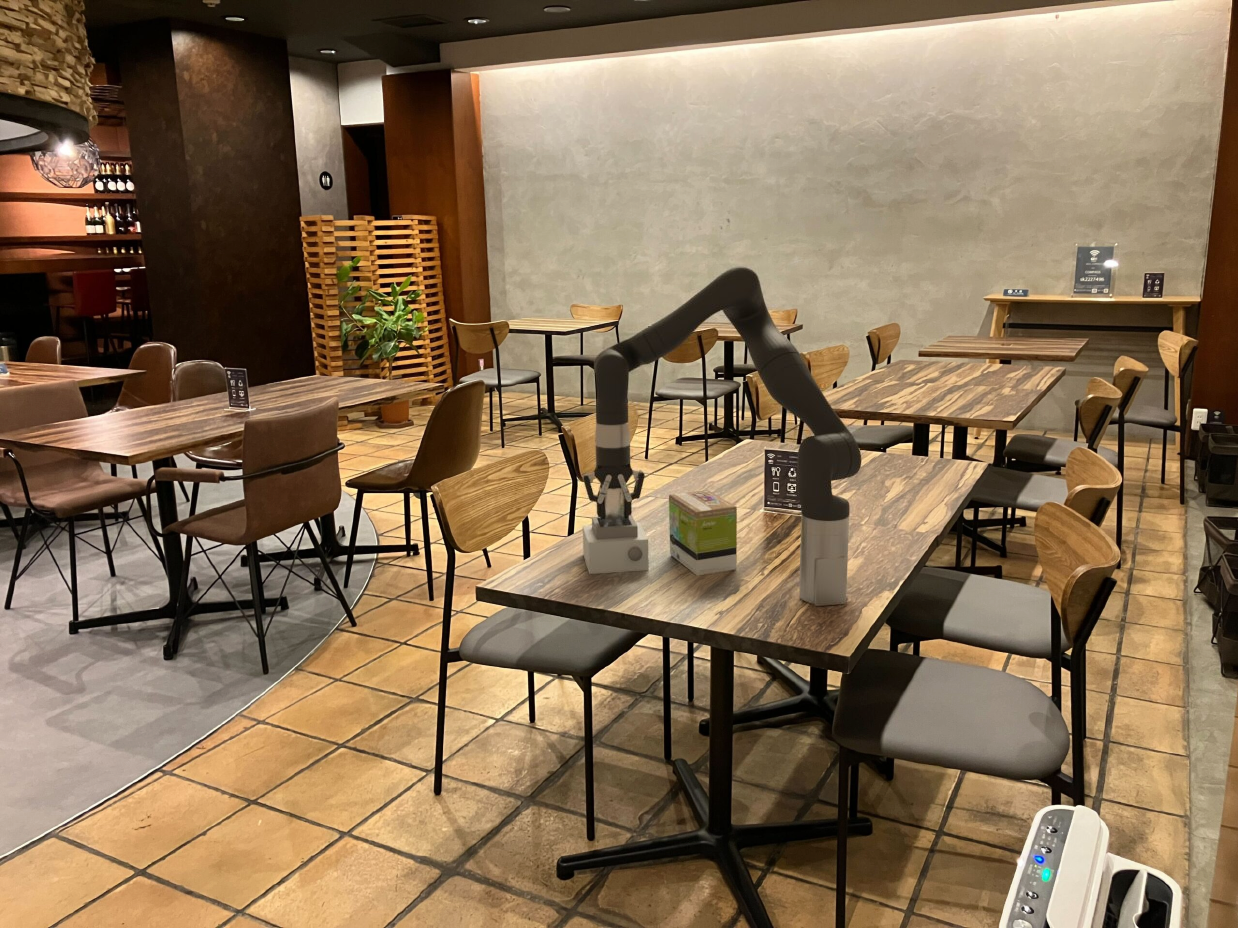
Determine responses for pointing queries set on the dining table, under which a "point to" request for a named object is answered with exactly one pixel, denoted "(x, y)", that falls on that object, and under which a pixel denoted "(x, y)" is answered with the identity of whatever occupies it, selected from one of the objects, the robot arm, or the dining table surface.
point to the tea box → (703, 532)
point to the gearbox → (615, 547)
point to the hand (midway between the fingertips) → (614, 517)
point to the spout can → (614, 507)
